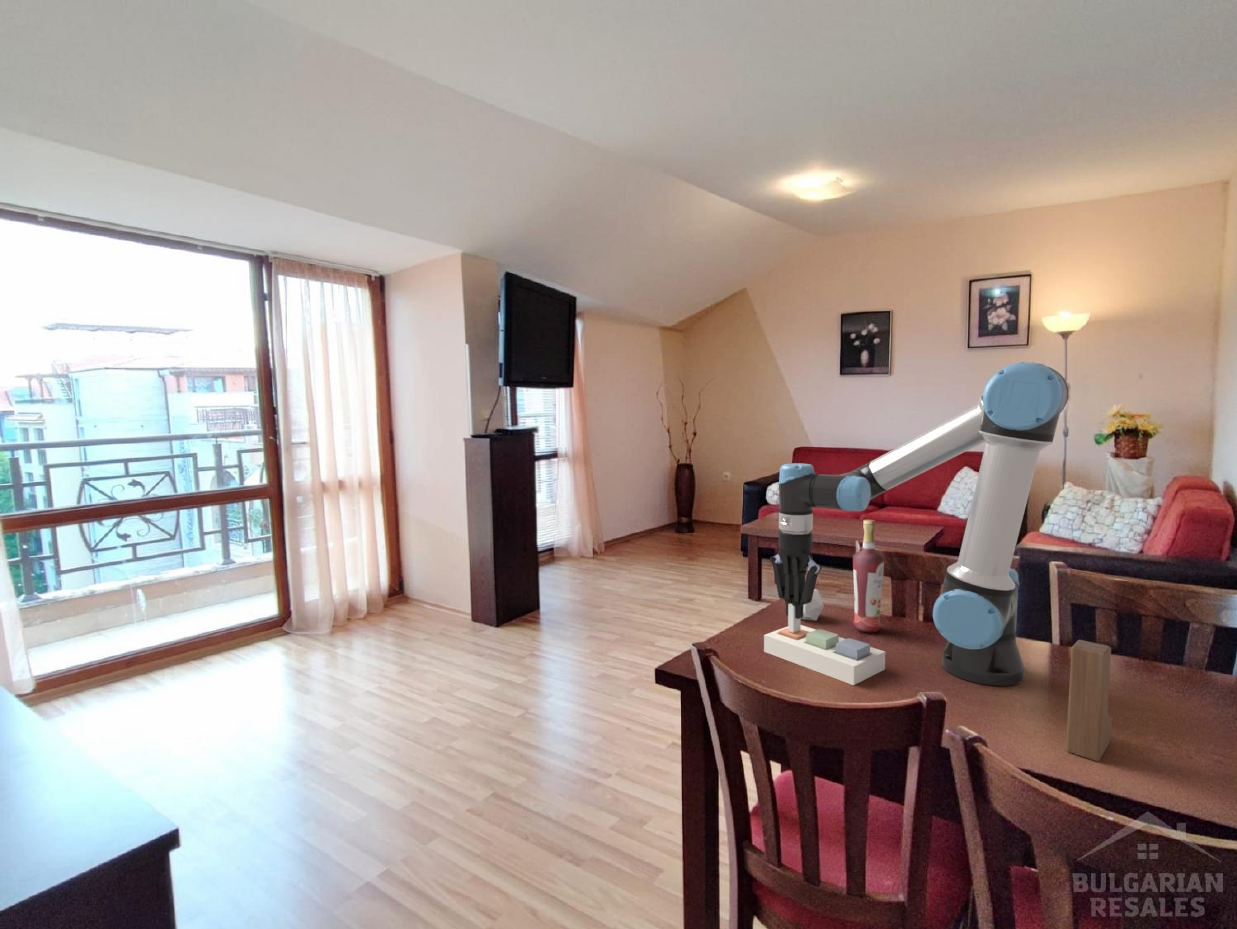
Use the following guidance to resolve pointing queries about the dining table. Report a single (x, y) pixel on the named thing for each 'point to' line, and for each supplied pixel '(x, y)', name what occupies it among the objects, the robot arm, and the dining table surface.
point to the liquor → (867, 582)
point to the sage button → (822, 639)
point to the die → (813, 607)
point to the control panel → (824, 658)
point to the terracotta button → (794, 634)
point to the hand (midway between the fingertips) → (794, 630)
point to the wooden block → (1089, 700)
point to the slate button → (853, 649)
